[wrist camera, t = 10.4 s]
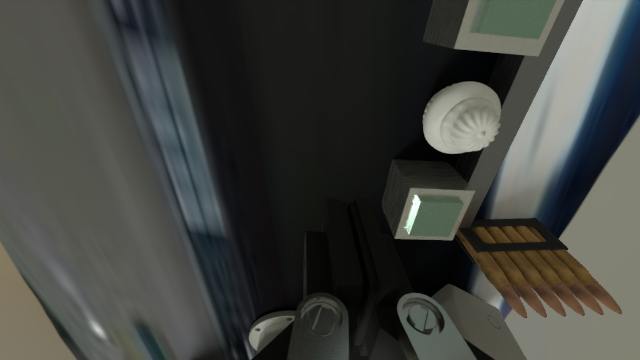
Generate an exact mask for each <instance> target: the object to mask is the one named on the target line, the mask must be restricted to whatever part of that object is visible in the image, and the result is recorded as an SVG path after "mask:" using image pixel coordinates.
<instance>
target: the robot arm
mask: <svg viewBox="0 0 640 360" xmlns="http://www.w3.org/2000/svg"><path fill="white" fill-rule="evenodd" d="M249 342H250V344H251V345H252V347H253V348H254V349H255V350H257V354H256V356H255V357H254V358H253V359H251V360H349V357H350V354H351V350H352V346H353V344H354V345H359V351H360V356H368V360H495V359H494V358H492V357H491V356H489V355H488V354H486V353H485V352H483V351H482V350H480V349H479V348H477V347H476V346H475V345H473V344H472V343H470V342H469V341H467V340H466V339H464V338H463V337H462V336H461V334H460V333H459V331H458V330H457V328H456V327H455V325H454V323H453V322H452V320H451V319H450V317H449V316H448V314H447V313H446V311H445V310H444V309H443V308H442V306H441V305H440V304H439V303H437V302H436V301H435V300H434V299H432V298H430V297H428V296H426V295H423V294H419V293H414V291H413V289H412V287H411V284H410V282H409V279H408V277H407V274H406V272H405V270H404V267H403V265H402V262H401V260H400V257H399V255H398V253H397V250H396V248H395V245H394V243H393V240H392V238H391V236H390V235H389V234H381V231H380V228H379V225H378V223H377V220H376V217H375V215H374V212H373V209H372V207H371V204H370V201H369V200H359V199H354V201H353V203H349V204H348V209H347V207H346V204H345V203H342V202H341V200H340V199H334V198H326V199H325V206H324V215H323V224H322V232H305V243H304V298H303V299H302V300H301V302H300V303H299V304H298V307H297V309H296V311H289V310H287V311H278V312H273V313H270V314H267V315H265V316H263V317H261V318H259V319H258V320H257V321H255V322H254V323H253V325H252V326H251V328H250V332H249Z"/></svg>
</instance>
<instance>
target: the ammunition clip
mask: <svg viewBox="0 0 640 360" xmlns="http://www.w3.org/2000/svg"><path fill="white" fill-rule="evenodd" d="M454 237H455V239H456V240H457V242H458V243H459V244H460V246H461V247H462V248H463V250H464V251H465V252H466V254H467V255H468V257H469V258H470V259H471V261H472V262H473V263H477V265H478V266H479V268H480V269H481V270H482V272H483V273H484V275H485V276H486V278H487V279H488V280H489V281H490V282H491V283H492V284H493V285H494V286H495V288H496V289H497V290H498V291H499V292H500V294H501V295H502V296H503V298H504V299H505V300H506V301H507V303H508V304H509V305H510V306H511V307H512V308H513V309H514V310H515V311H516V312H517V313H519V314H520V315H521V316H522V317H524V318H527V313H526V310H525V308H524V306H523V303H522V302H521V300H520V298H519V297H518V295H517V293H516V292H515V291H514V289H515V290H516V291H517V292H518V293H519V294H520V296H521V297H522V298H523V299H524V300H525V302H526V303H528V305H529V306H530V307H531V308H532V309H534V310H535V311H536V312H537V313H539V314H540V315H541V316H543V317H547V315H546V311H545V309H544V307H543V305H542V303H541V301H540V300H539V298H538V297H537V295H536V294H535V292H536V293H537V294H538V295H539V296H540V297H541V298H542V299H543V301H544V302H546V303H547V304H548V305H549V306H550V307H551V308H552V309H553V310H555V311H556V312H557V313H559V314H560V315H562V316H564V317H565V316H566V313H565V310H564V308H563V306H562V304H561V303H560V301H559V299H558V298H557V297H556V296H555V294H556V295H557V296H558V297H559V298H560V299H561V300H562V301H563V302H564V303H565V304H566V305H567V306H569V307H570V308H571V309H573V310H574V311H575V312H577V313H578V314H580V315H583V316H584V315H585V313H584V310H583V308H582V306H581V305H580V303H579V302H578V300H577V299H576V297H577V298H578V299H579V300H580V301H581V302H582V303H584V304H585V305H587V306H588V307H589V308H590V309H592V310H593V311H595V312H596V313H598V314H600V315H603V311H602V309H601V307H600V305H599V304H598V302H597V301H596V299H597V300H598V301H600V302H601V303H602V304H604V305H605V306H607V307H608V308H609V309H611V310H613V311H614V312H616V313H618V314H621V313H622V311H621V309H620V307H619V306H618V304H617V303H616V301H615V300H614V299H613V298H612V296H610V294H609V293H608V292H607V291H606V290H605V289H604V288H603V287H602V286H601V285H600V284H599V283H598V282H597V281H596V280H595V279H594V278H593V277H592V276H591V274H590V273H589V272H588V271H587V270H586V268H585V267H583V266H582V265H581V264H580V263H579V262H578V261H577V260H576V259H575V258H574V257H573V256H572V255H570V254H569V253H568V252H567V251H566V250H568V248H567V247H566V246H565V245H564V244H563V243H562V242H561V241H560V240H559V239H558V238H557V237H555V236H554V235H553V234H552V233H551V232H550V231H549V230H548V229H547V228H546V227H545V226H544V225H543V224H541V223H540V222H539V221H538V220H537V219H536V218H529V219H489V220H473V222H472V224H471V226H470V228H458V229H457V232H456V234H455V236H454ZM510 284H511V285H512V286H513V288H514V289H513V288H512V286H511V285H510ZM529 285H530V286H529ZM531 288H532V289H533V290H534V291H535V292H534V291H533V290H532V289H531ZM553 292H554V293H555V294H554V293H553ZM572 293H573V294H574V295H575V296H576V297H575V296H574V295H573V294H572ZM593 296H594V297H595V298H596V299H595V298H594V297H593Z"/></svg>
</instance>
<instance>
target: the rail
mask: <svg viewBox="0 0 640 360" xmlns="http://www.w3.org/2000/svg"><path fill="white" fill-rule="evenodd" d="M582 1H583V0H433V2H432V6H431V10H430V14H429V18H428V22H427V26H426V30H425V34H424V38H423V41H424V42H428V43H432V44H436V45H440V46H445V47H449V48H453V49H463V50H473V51H484V52H495V53H500V54H499V56H498V59H497V61H496V64H495V66H494V69H493V71H492V74H491V76H490V79H489V81H488V84H487V86H488V87H490V88H491V89H492V90H493V91H494V92H495V93H496V94H497V96H498V97H499V100H500V104H501V115H500V119H499V122H498V123H500V124H501V126H500V127H499V128H498V129H497V130H498V132H499V133H498V134H497V135H495V136H494V141H492V142H489V145H488V146H487V147H484V148H482V149H481V150H478V151H471V152H464V153H460V155H459V157H458V160H457V162H456V165H455V167H454V168H453V167H452V166H451V165H450V164H449V163H448V162H439V161H420V160H401V159H393V160H392V164H391V168H390V172H389V176H388V179H387V183H386V187H385V191H384V195H383V199H382V203H381V206H382V209H383V211H384V214H385V216H386V219H387V221H388V224H389V226H390V229H391V231H392V234H393V236H394V239H423V240H453V238H454V236H455V234H456V232H457V229H458V228H470V226H471V224H472V222H473V220H474V218H475V216H476V214H477V212H478V210H479V208H480V206H481V204H482V202H483V200H484V198H485V196H486V194H487V192H488V190H489V188H490V186H491V184H492V182H493V180H494V178H495V176H496V174H497V172H498V170H499V168H500V166H501V164H502V162H503V160H504V158H505V156H506V154H507V152H508V150H509V148H510V146H511V144H512V142H513V140H514V138H515V136H516V134H517V132H518V130H519V128H520V126H521V124H522V122H523V120H524V118H525V115H526V113H527V111H528V109H529V107H530V105H531V103H532V101H533V99H534V97H535V95H536V93H537V91H538V89H539V87H540V85H541V83H542V81H543V79H544V77H545V75H546V73H547V71H548V69H549V67H550V65H551V63H552V61H553V59H554V57H555V55H556V53H557V51H558V49H559V47H560V45H561V43H562V41H563V39H564V37H565V35H566V33H567V31H568V29H569V27H570V25H571V23H572V21H573V19H574V17H575V15H576V13H577V11H578V9H579V7H580V5H581V3H582Z"/></svg>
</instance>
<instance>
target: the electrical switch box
mask: <svg viewBox="0 0 640 360" xmlns="http://www.w3.org/2000/svg"><path fill="white" fill-rule="evenodd" d="M431 298H432V299H434V300H435V301H436V302H437V303H439V304H440V305H441V306H442V308H443V309H444V310H445V311H446V313H447V314H448V316H449V317H450V319H451V320H452V322H453V323H454V325H455V327H456V328H457V330H458V331H459V333H460V334H461V336H462V337H463V338H464V339H466V340H467V341H469V342H470V343H472V344H473V345H475V346H476V347H477V348H479V349H480V350H482V351H483V352H485V353H486V354H488V355H489V356H491V357H492V358H494V359H495V360H527V359H526V357H525V356H524V354H523V352H522V350H521V349H520V347H519V345H518V343H517V342H516V340H515V338H514V336H513V335H512V333H511V331H510V329H509V328H508V326H507V324H506V322H505V321H504V319H503V317H502V315H501V314H500V312H499V310H498V309H497V308H496V307H494V306H492V305H490V304H488V303H486V302H484V301H482V300H480V299H479V298H477V297H475V296H473V295H471V294H469V293H467V292H465V291H463V290H461V289H459V288H457V287H455V286H453V285H451V284H447V285H446V286H444V287H443V288H442V289H441V290H439V291H438V292H437V293H436V294H435V295H433V296H432V297H431Z"/></svg>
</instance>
